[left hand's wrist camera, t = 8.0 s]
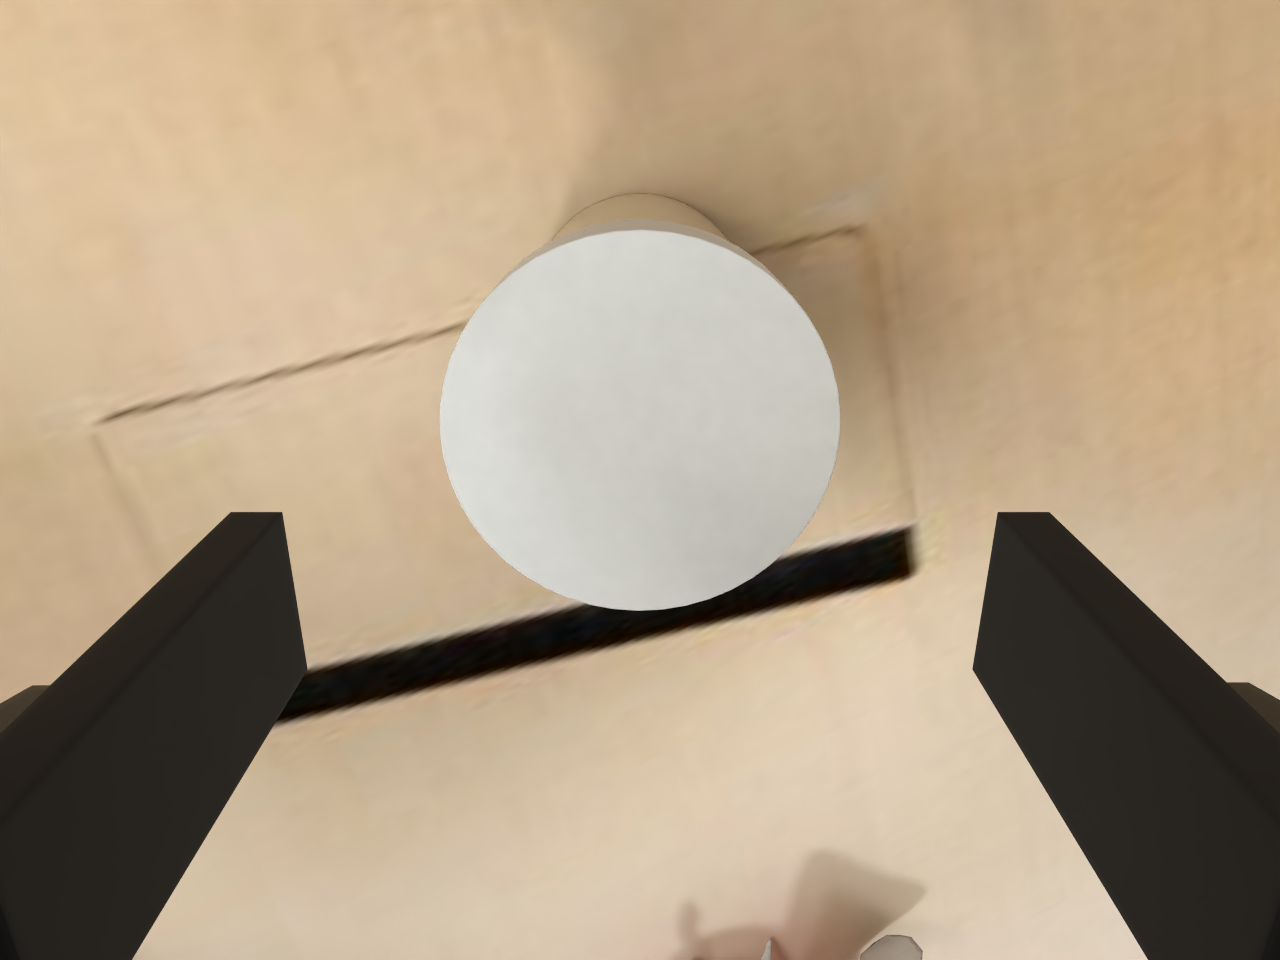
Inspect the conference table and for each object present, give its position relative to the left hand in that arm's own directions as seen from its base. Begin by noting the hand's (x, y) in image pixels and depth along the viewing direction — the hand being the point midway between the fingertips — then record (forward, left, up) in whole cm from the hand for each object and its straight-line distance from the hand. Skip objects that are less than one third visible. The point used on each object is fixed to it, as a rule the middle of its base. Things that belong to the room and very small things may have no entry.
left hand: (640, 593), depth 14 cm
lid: (0, 0, -8) cm, 8 cm away
